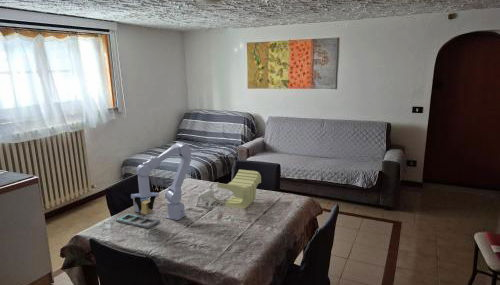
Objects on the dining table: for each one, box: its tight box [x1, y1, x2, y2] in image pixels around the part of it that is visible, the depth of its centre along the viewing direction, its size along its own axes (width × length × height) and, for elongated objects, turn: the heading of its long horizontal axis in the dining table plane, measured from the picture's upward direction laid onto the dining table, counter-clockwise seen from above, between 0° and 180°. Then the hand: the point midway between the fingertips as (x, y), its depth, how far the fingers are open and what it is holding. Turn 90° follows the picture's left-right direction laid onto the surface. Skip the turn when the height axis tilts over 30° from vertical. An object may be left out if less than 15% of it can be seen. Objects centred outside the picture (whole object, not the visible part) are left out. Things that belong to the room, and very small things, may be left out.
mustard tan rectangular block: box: [140, 200, 153, 215], centre depth 188 cm, size 4×4×6 cm
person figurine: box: [194, 181, 223, 209], centre depth 217 cm, size 13×13×18 cm
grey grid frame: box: [115, 213, 161, 230], centre depth 192 cm, size 24×9×1 cm, turn 65°
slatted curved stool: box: [216, 169, 262, 210], centre depth 214 cm, size 30×16×18 cm, turn 156°
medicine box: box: [132, 197, 149, 214], centre depth 208 cm, size 8×4×9 cm, turn 143°
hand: (146, 209), depth 188 cm, fingers closed on mustard tan rectangular block, 6 cm apart
